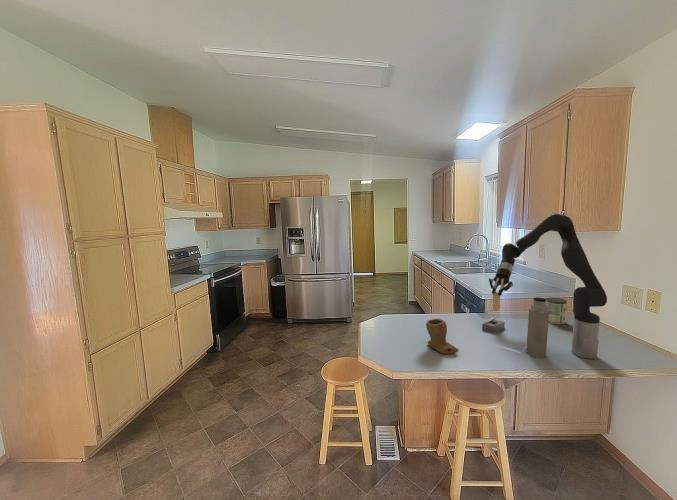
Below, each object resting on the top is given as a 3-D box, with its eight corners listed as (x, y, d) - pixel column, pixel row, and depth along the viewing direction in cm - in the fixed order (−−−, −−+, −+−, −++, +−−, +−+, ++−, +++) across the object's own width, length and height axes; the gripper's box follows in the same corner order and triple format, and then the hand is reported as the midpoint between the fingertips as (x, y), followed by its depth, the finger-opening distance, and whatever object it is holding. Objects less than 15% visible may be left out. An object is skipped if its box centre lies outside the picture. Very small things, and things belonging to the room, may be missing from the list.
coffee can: (544, 317, 189) (545, 296, 188) (563, 320, 184) (565, 298, 182) (545, 322, 181) (546, 300, 179) (565, 325, 175) (567, 303, 173)
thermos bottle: (528, 348, 146) (531, 295, 143) (547, 353, 141) (551, 298, 137) (524, 354, 140) (528, 298, 137) (544, 359, 135) (548, 301, 132)
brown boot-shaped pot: (421, 344, 154) (421, 317, 152) (441, 341, 156) (441, 314, 155) (438, 357, 139) (438, 327, 137) (459, 354, 142) (460, 324, 140)
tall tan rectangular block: (495, 307, 174) (495, 292, 172) (499, 308, 172) (500, 293, 170) (492, 310, 172) (493, 294, 169) (497, 311, 170) (497, 295, 168)
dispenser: (490, 325, 177) (490, 316, 176) (504, 329, 171) (504, 320, 171) (481, 330, 169) (482, 321, 168) (496, 335, 163) (497, 325, 163)
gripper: (490, 266, 179) (482, 289, 172) (516, 269, 169) (507, 293, 162) (493, 273, 183) (485, 295, 177) (518, 276, 173) (510, 300, 166)
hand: (496, 294), depth 169 cm, fingers closed on tall tan rectangular block, 2 cm apart
